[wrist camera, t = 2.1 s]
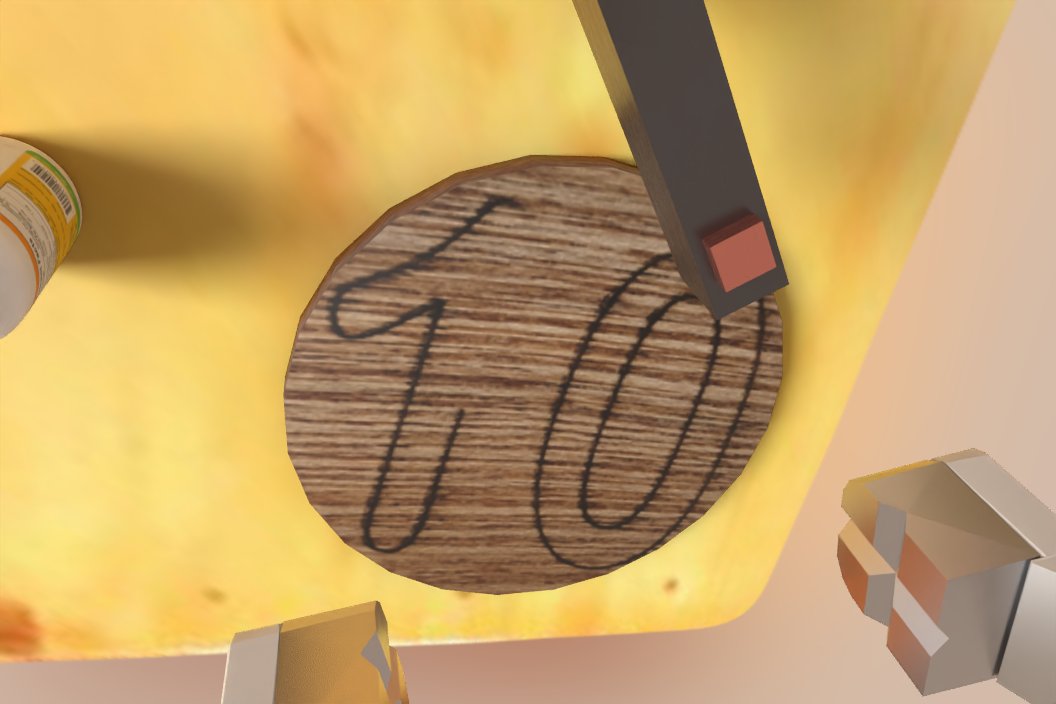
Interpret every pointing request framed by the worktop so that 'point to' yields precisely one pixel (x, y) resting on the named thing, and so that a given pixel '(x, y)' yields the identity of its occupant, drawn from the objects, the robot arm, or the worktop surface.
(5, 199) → the supplement bottle
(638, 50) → the lid
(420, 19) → the worktop surface
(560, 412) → the trivet
